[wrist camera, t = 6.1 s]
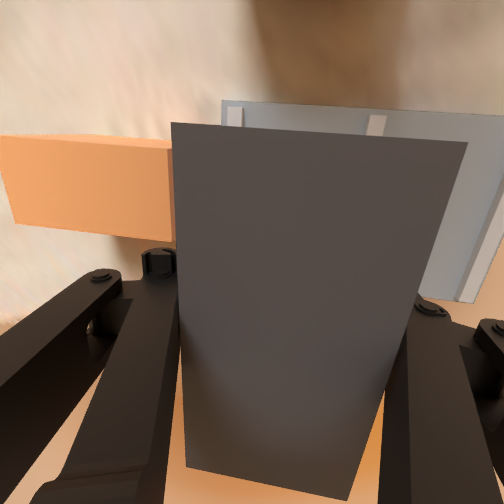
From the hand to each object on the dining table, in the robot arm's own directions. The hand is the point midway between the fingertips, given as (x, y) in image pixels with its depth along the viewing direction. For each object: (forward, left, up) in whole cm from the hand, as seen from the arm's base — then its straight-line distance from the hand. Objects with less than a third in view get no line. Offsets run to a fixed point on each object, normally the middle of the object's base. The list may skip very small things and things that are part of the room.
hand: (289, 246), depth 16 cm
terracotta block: (-2, -14, -12) cm, 18 cm away
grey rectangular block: (0, 0, -1) cm, 1 cm away
